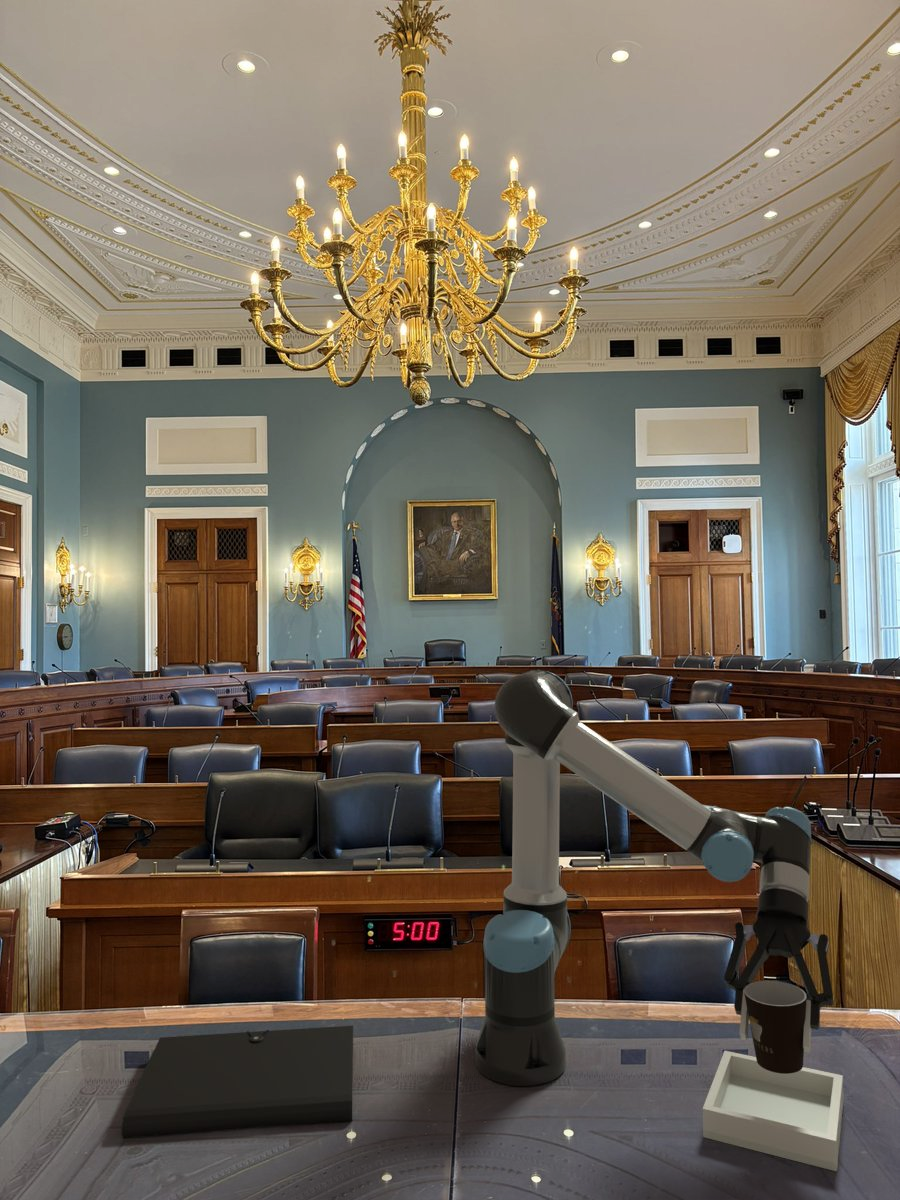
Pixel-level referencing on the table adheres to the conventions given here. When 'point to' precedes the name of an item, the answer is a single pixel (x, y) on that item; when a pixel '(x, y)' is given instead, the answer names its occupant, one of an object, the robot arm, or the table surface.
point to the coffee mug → (777, 1024)
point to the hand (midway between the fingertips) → (774, 1043)
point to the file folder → (244, 1082)
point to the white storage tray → (776, 1111)
